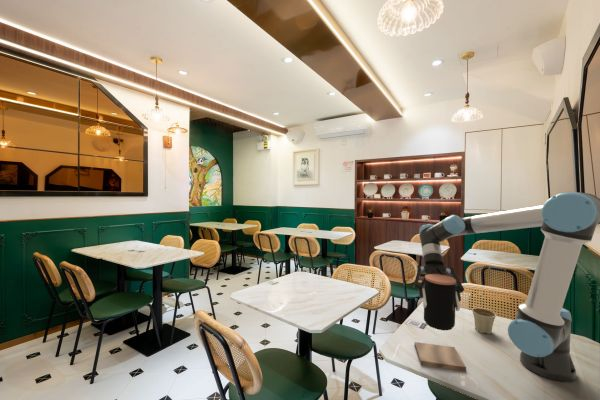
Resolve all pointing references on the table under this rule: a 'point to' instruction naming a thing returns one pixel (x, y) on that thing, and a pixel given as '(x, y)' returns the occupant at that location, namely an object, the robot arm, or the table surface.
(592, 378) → the table surface
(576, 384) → the table surface
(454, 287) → the coffee jar
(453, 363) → the walnut board
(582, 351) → the table surface
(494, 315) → the flower pot
